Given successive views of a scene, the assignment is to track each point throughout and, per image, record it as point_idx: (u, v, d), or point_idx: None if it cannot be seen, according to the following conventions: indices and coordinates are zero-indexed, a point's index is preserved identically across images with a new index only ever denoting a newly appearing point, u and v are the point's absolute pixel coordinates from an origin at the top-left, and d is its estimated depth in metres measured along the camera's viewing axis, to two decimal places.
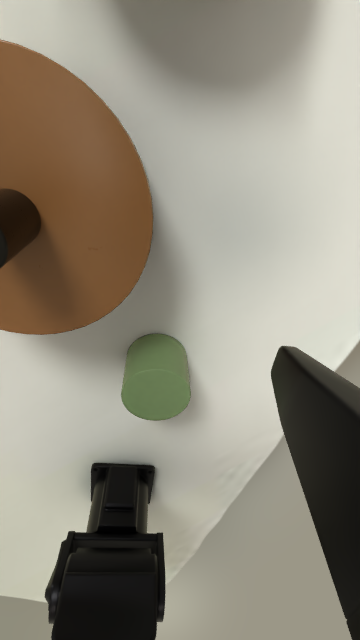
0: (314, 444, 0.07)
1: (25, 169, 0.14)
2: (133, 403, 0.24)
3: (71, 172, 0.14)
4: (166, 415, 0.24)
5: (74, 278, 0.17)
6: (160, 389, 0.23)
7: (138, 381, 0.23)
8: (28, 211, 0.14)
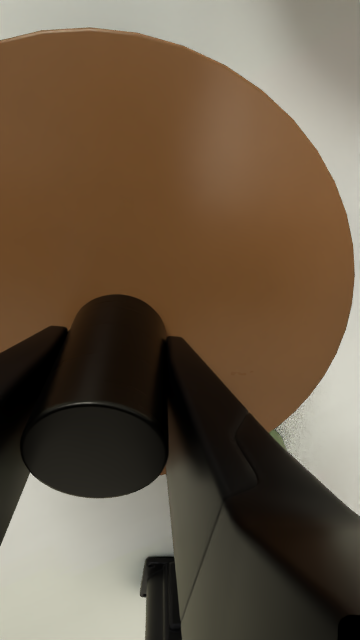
0: (172, 437, 0.07)
1: (155, 264, 0.08)
2: None
3: (232, 268, 0.08)
4: None
5: None
6: None
7: None
8: (162, 338, 0.08)
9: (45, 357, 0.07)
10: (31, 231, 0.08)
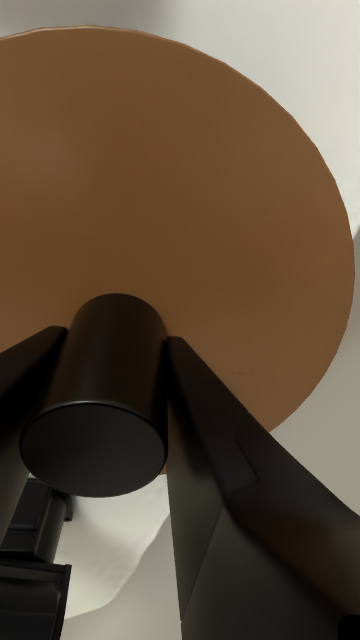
0: (172, 437, 0.07)
1: (154, 263, 0.08)
2: None
3: (232, 266, 0.08)
4: None
5: None
6: None
7: None
8: (161, 337, 0.08)
9: (45, 357, 0.07)
10: (30, 230, 0.08)
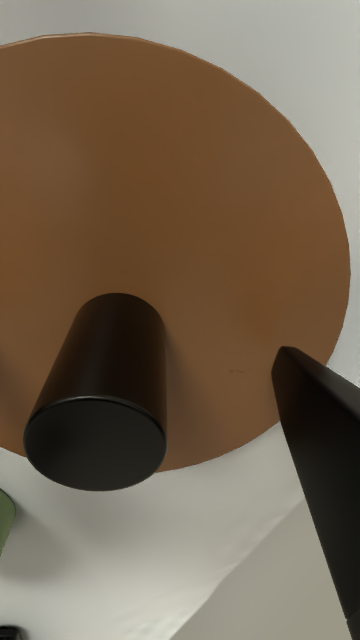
0: (314, 444, 0.07)
1: (154, 263, 0.08)
2: None
3: (230, 266, 0.08)
4: None
5: (198, 408, 0.11)
6: None
7: None
8: (161, 336, 0.08)
9: None
10: (33, 231, 0.08)
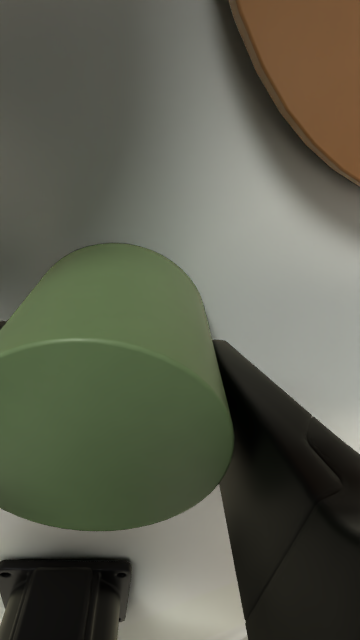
0: None
1: None
2: (6, 482, 0.06)
3: None
4: (141, 517, 0.07)
5: None
6: (109, 431, 0.05)
7: (3, 398, 0.05)
8: None
9: None
10: None
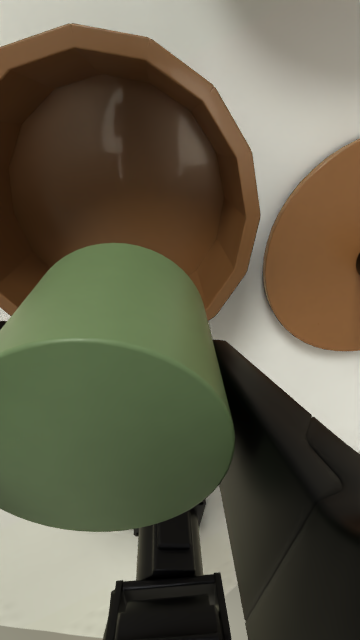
0: None
1: None
2: (6, 483, 0.06)
3: None
4: (141, 517, 0.07)
5: None
6: (109, 431, 0.05)
7: (3, 398, 0.05)
8: None
9: None
10: None
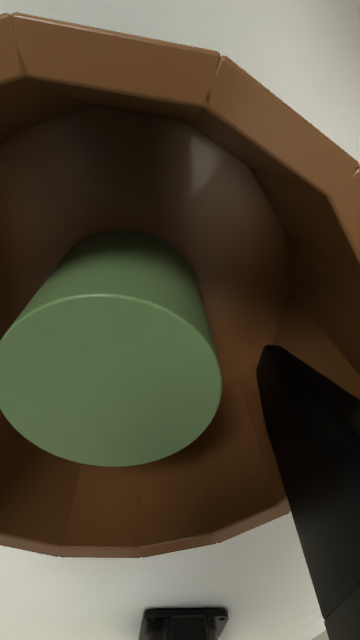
0: (295, 443, 0.07)
1: None
2: (39, 418, 0.07)
3: None
4: (146, 453, 0.08)
5: None
6: (122, 373, 0.07)
7: (42, 343, 0.06)
8: None
9: None
10: None
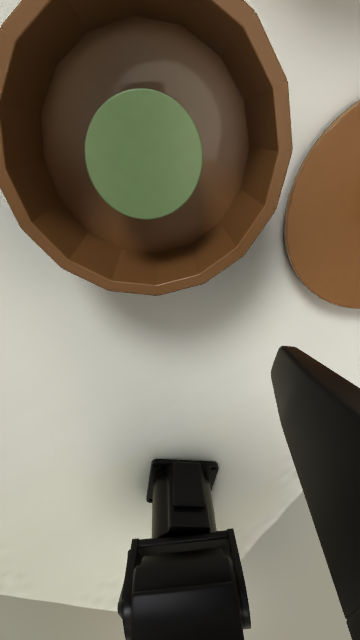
0: (314, 444, 0.07)
1: None
2: (106, 175, 0.14)
3: None
4: (162, 207, 0.15)
5: None
6: (151, 142, 0.13)
7: (112, 119, 0.13)
8: None
9: None
10: None
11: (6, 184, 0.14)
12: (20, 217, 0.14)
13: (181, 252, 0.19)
